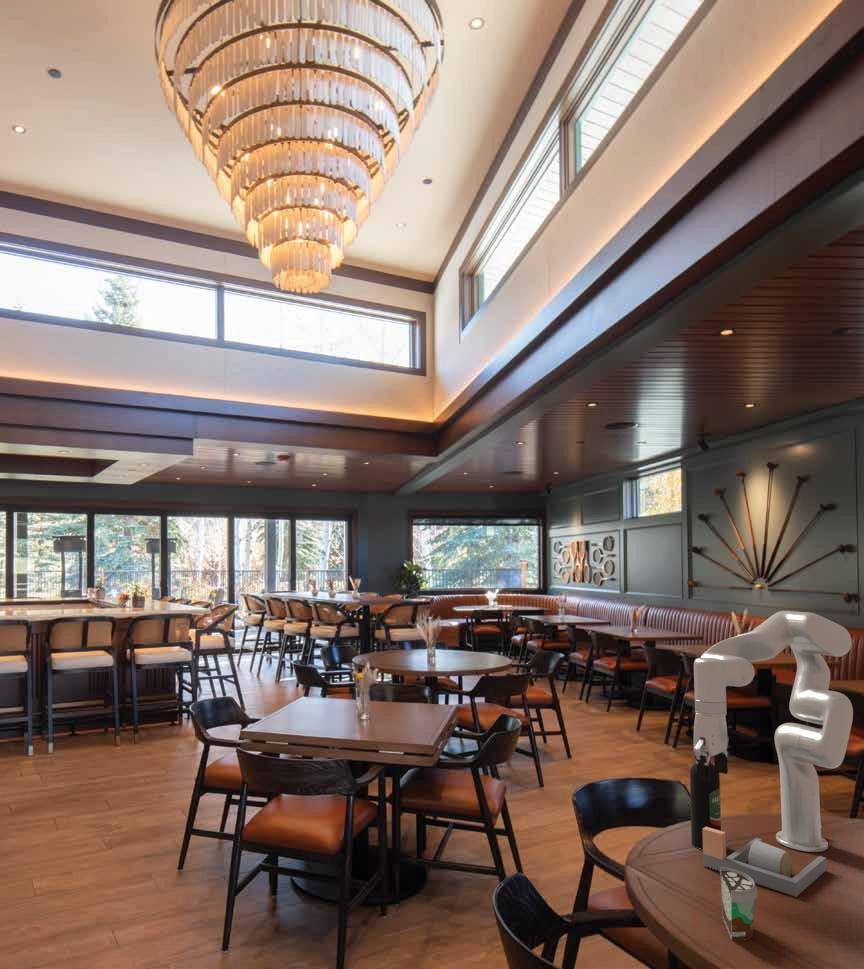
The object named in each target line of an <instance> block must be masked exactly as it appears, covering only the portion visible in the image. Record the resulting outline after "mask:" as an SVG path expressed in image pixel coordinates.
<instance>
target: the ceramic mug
mask: <svg viewBox="0 0 864 969" xmlns="http://www.w3.org/2000/svg"><path fill="white" fill-rule="evenodd" d="M748 865H752V866H755V867H758V868H761V869H764V870H768V871H771V872H774V873H777V874H780V875H783V876H787V877H790V878H791V876H792V872H793V859H792V856H791V854H790V853H789V852H788V851H785V850H784V849H782V848H780V847H776V846H773V845H771V844H768V843H765V842H763V841H762V842H761V841H758V840H756V841H754V842H753V844H752V845H751V848H750V852H749V861H748Z"/></svg>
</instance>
